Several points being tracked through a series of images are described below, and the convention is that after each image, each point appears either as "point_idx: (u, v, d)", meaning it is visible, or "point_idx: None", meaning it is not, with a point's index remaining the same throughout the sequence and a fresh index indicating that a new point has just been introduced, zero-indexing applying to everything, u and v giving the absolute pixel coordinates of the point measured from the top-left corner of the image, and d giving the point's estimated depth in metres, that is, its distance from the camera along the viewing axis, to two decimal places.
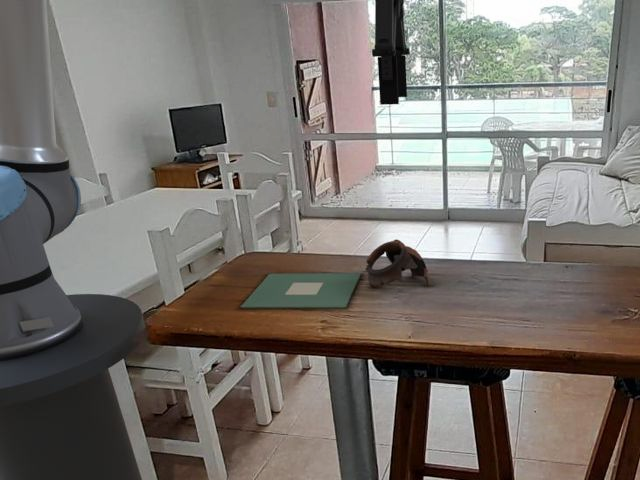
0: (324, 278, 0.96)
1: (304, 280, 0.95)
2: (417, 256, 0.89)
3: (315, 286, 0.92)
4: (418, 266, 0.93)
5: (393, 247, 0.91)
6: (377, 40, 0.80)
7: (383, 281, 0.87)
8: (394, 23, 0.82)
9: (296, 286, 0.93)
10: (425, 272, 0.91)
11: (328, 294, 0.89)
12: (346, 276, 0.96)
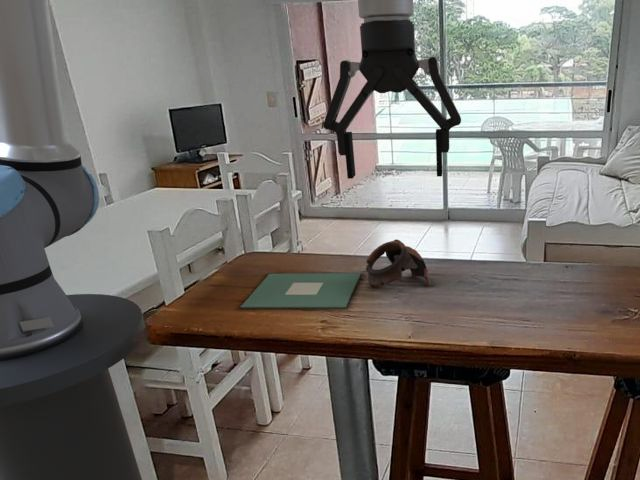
0: (324, 278, 0.96)
1: (304, 280, 0.95)
2: (417, 256, 0.89)
3: (315, 286, 0.92)
4: (418, 266, 0.93)
5: (393, 247, 0.91)
6: None
7: (383, 281, 0.87)
8: (428, 98, 0.84)
9: (296, 286, 0.93)
10: (425, 272, 0.91)
11: (328, 294, 0.89)
12: (346, 276, 0.96)
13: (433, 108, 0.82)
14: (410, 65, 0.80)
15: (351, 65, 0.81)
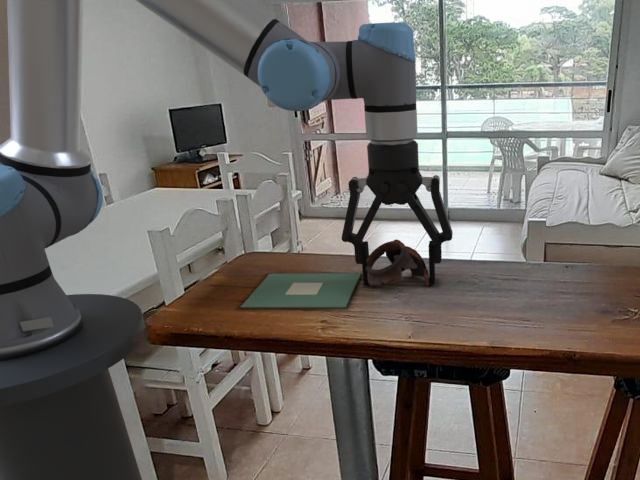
0: (324, 278, 0.96)
1: (304, 280, 0.95)
2: (417, 256, 0.89)
3: (315, 286, 0.92)
4: (418, 266, 0.93)
5: (393, 247, 0.91)
6: (450, 231, 0.88)
7: (382, 281, 0.87)
8: (426, 212, 0.89)
9: (296, 286, 0.93)
10: (425, 272, 0.91)
11: (328, 294, 0.89)
12: (346, 276, 0.96)
13: (429, 224, 0.88)
14: (414, 181, 0.85)
15: (359, 182, 0.86)
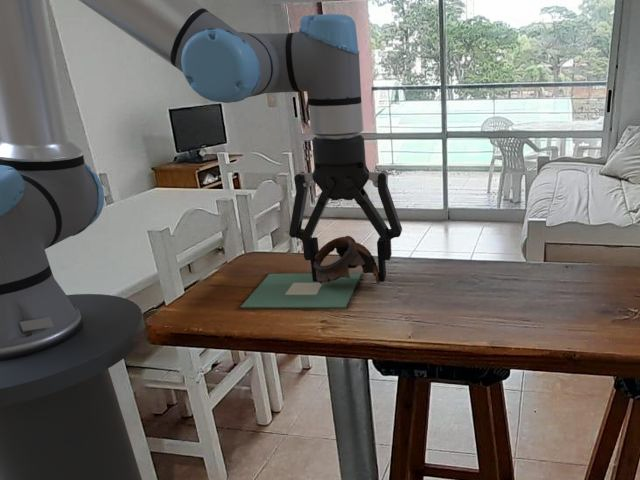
0: None
1: (304, 280, 0.95)
2: (365, 252, 0.88)
3: (315, 286, 0.92)
4: (368, 263, 0.92)
5: (342, 243, 0.90)
6: (399, 228, 0.87)
7: (329, 278, 0.86)
8: (375, 208, 0.88)
9: (296, 286, 0.93)
10: (374, 268, 0.90)
11: (328, 294, 0.89)
12: None
13: (377, 220, 0.86)
14: (360, 176, 0.84)
15: (305, 177, 0.85)
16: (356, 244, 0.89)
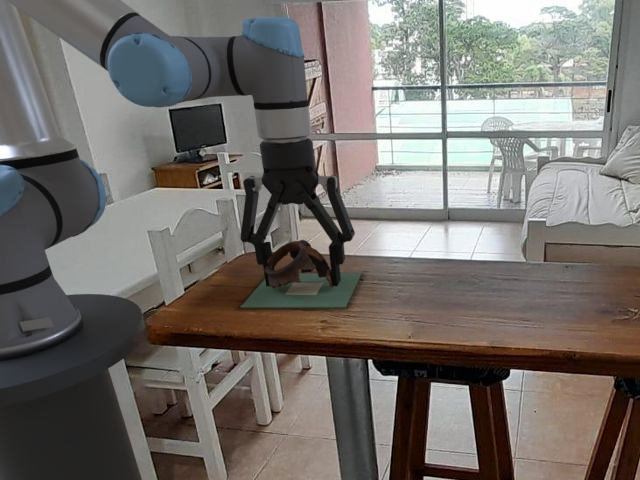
0: (324, 278, 0.96)
1: (304, 280, 0.95)
2: (317, 257, 0.87)
3: (315, 286, 0.92)
4: (322, 267, 0.91)
5: (295, 247, 0.89)
6: (350, 232, 0.86)
7: (280, 283, 0.85)
8: (326, 212, 0.87)
9: (296, 286, 0.93)
10: (327, 273, 0.89)
11: (328, 294, 0.89)
12: (346, 276, 0.96)
13: (328, 224, 0.86)
14: (309, 180, 0.83)
15: (254, 181, 0.85)
16: (308, 248, 0.88)
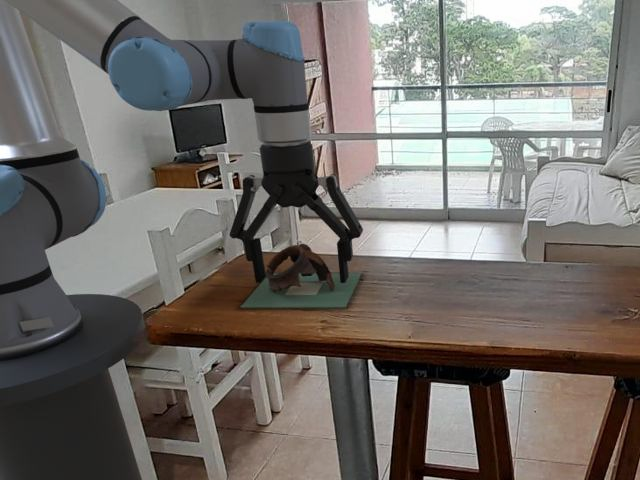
0: None
1: (304, 280, 0.95)
2: (317, 261, 0.88)
3: (315, 286, 0.92)
4: (323, 271, 0.92)
5: (295, 251, 0.90)
6: (358, 228, 0.86)
7: (280, 287, 0.86)
8: None
9: (296, 286, 0.93)
10: (327, 277, 0.90)
11: (328, 294, 0.89)
12: None
13: (333, 222, 0.86)
14: (309, 183, 0.83)
15: (254, 181, 0.84)
16: (308, 252, 0.88)
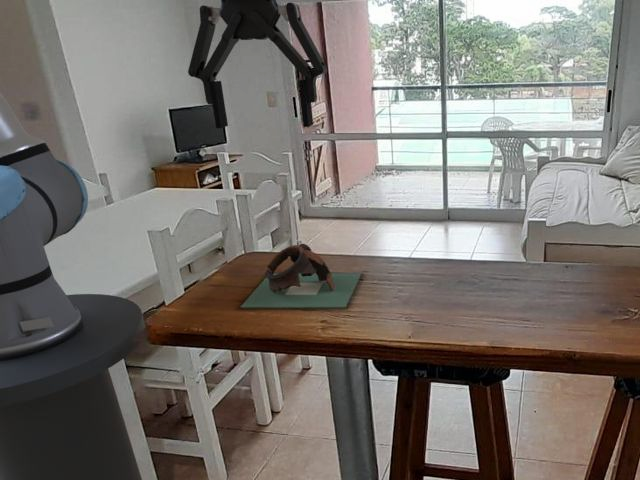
0: None
1: (304, 280, 0.95)
2: (317, 261, 0.88)
3: (315, 286, 0.92)
4: (323, 271, 0.92)
5: (295, 251, 0.90)
6: (320, 63, 0.82)
7: (280, 287, 0.86)
8: (293, 47, 0.83)
9: (296, 286, 0.93)
10: (327, 277, 0.90)
11: (328, 294, 0.89)
12: (346, 276, 0.96)
13: (295, 56, 0.82)
14: (269, 11, 0.80)
15: (212, 11, 0.81)
16: (308, 252, 0.88)
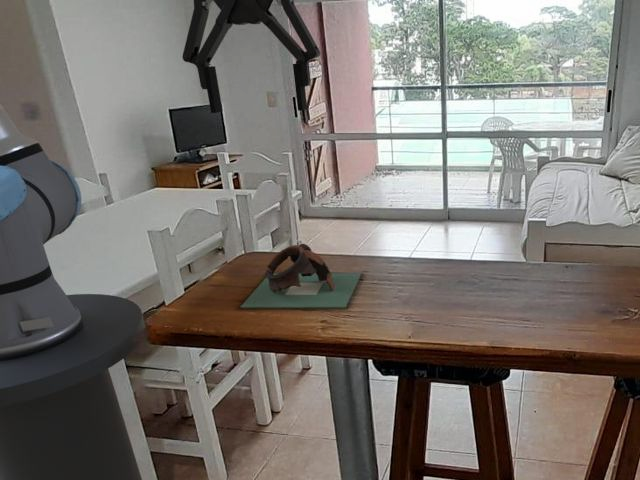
0: None
1: (304, 280, 0.95)
2: (317, 261, 0.88)
3: (315, 286, 0.92)
4: (323, 271, 0.92)
5: (295, 251, 0.90)
6: (314, 47, 0.83)
7: (280, 287, 0.86)
8: (286, 31, 0.84)
9: (296, 286, 0.93)
10: (327, 277, 0.90)
11: (328, 294, 0.89)
12: (346, 276, 0.96)
13: (288, 40, 0.83)
14: None
15: None
16: (308, 252, 0.88)
